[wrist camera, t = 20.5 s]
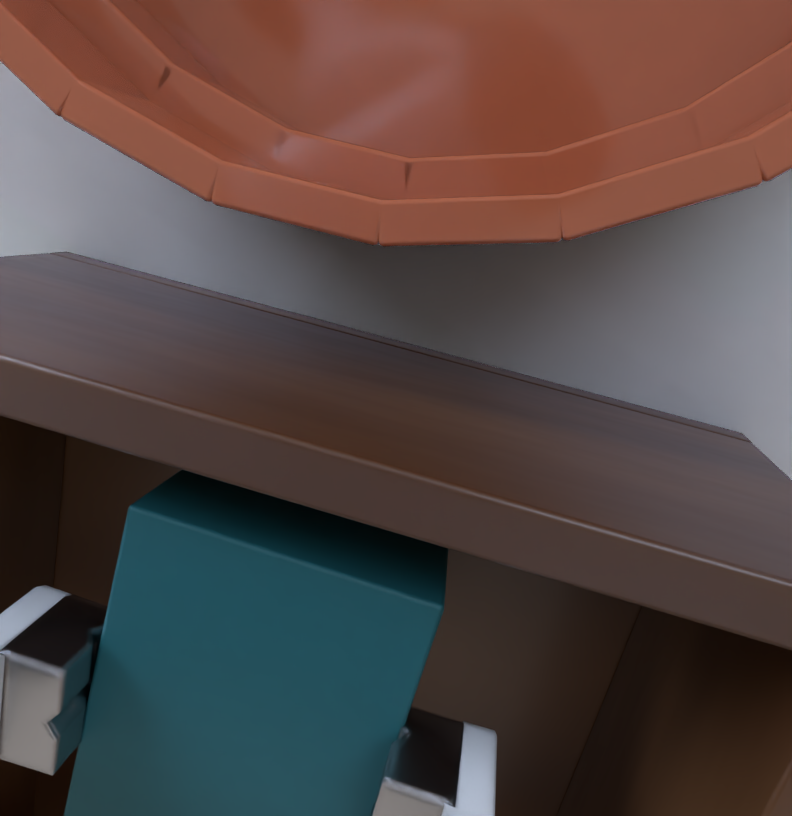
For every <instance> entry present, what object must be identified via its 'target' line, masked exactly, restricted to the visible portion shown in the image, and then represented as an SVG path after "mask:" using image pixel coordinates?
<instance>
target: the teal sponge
mask: <svg viewBox="0 0 792 816" xmlns="http://www.w3.org/2000/svg"><path fill="white" fill-rule="evenodd" d="M447 563H448V548H444V547H441V546H438V545H434V544H431V543H428V542H424V541H421V540H417V539H414V538H411V537H407V536H404V535H401V534H397V533H394V532H391V531H387V530H384V529H380V528H377V527H374V526H370V525H367V524H364V523H360V522H357V521H353V520H350V519H347V518H343V517H340V516H337V515H333V514H330V513H327V512H323V511H320V510H316V509H313V508H310V507H306V506H303V505H300V504H296V503H293V502H289V501H286V500H283V499H279V498H276V497H273V496H269V495H266V494H263V493H259V492H256V491H252V490H249V489H246V488H242V487H239V486H236V485H232V484H229V483H225V482H222V481H219V480H215V479H212V478H209V477H205V476H202V475H198V474H195V473H192V472H188V471H185V470H182V469H181V470H180V471H179V472H177V473H176V474H174V475H173V476H171V477H170V478H169V479H167V480H166V481H164V482H163V483H161V484H160V485H158V486H157V487H156V488H154V489H153V490H151V491H150V492H148V493H147V494H146V495H144V496H143V497H141V498H140V499H138V500H137V501H135V502H134V503H133V504H131V505H130V506H129V508H128V512H127V517H126V522H125V526H124V531H123V536H122V541H121V545H120V550H119V555H118V560H117V564H116V569H115V574H114V579H113V583H112V588H111V593H110V598H109V602H108V607H107V612H106V617H105V621H104V626H103V631H102V636H101V640H100V645H99V650H98V655H97V659H96V664H95V669H94V674H93V678H92V683H91V688H90V693H89V697H88V702H87V707H86V712H85V718H84V726H83V734H82V741H81V743H80V744H79V745H78V750H77V755H76V759H75V764H74V769H73V774H72V778H71V783H70V788H69V793H68V797H67V802H66V807H65V812H64V816H370V813H371V810H372V806H373V804H374V803H375V801H376V797H377V792H378V788H379V783H380V779H381V776H382V773H383V770H384V766H385V763H386V760H387V756H388V753H389V750H390V747H391V743H393V742H394V741H396V740H398V737H399V733H400V730H401V727H403V726H404V725H405V723H406V720H407V717H408V714H409V711H410V708H411V705H412V702H413V699H414V696H415V693H416V690H417V688H418V685H419V682H420V679H421V676H422V673H423V670H424V667H425V664H426V661H427V658H428V655H429V652H430V649H431V647H432V644H433V641H434V638H435V635H436V632H437V629H438V626H439V623H440V620H441V617H442V614H443V611H444V604H445V590H446V576H447Z"/></svg>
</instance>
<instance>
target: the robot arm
mask: <svg viewBox="0 0 792 816" xmlns="http://www.w3.org/2000/svg"><path fill="white" fill-rule="evenodd" d="M107 607H108V606H105V605H103V604H100V603H97V602H94V601H91V600H88V599H85V598H83V597H80V596H77V595H74V594H73V595H71V594H69V593H67V592H64V591H61V590H58V589H55V588H52V587H50V586H47V585H43V586H38V587H35V588H34V589H32V590H31V591H30V592H28V593H27V594H26V595H24V596H23V597H22V598H20V599H19V600H18V601H16V602H15V603H14V604H13V605H11V606H10V607H9V608H7V609H6V610H5V611H3V612H2V613H1V614H0V759H2V760H5V761H8V762H11V763H14V764H18V765H21V766H24V767H27V768H30V769H33V770H36V771H40V772H43V773H46V774H49V775H52V776H53V775H54V773H55V772H56V771H57V770H58V769H59V768H60V766H61V765H62V764H63V763H64V762H65V760H66V759H67V758H68V757H69V756H70V754H71V753H72V752H73V751H74V750H75V748H76V747H77V746H78V745H79V744H80V743H81V741H82V734H83V726H84V718H85V712H86V707H87V702H88V697H89V693H90V688H91V683H92V678H93V674H94V669H95V664H96V659H97V655H98V650H99V645H100V640H101V636H102V631H103V626H104V621H105V617H106V612H107ZM496 758H497V735H496V732H495V730H491V729H488V728H485V727H481V726H478V725H475V724H471V723H468V722H465V721H463V723H462V722H461V721H459V720H456V719H452V718H449V717H446V716H443V715H440V714H437V713H433V712H430V711H427V710H424V709H421V708H418V707H415V706H411V708H410V711H409V714H408V717H407V720H406V723H405V725H404V726H403V727H401V730H400V733H399V737H398V740H396V741H394V742H393V743H391V747H390V750H389V753H388V756H387V760H386V763H385V766H384V770H383V773H382V776H381V779H380V783H379V788H378V792H377V797H376V801H375V803H374V804H373V806H372V810H371V813H370V816H495V795H496Z"/></svg>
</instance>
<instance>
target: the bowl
mask: <svg viewBox="0 0 792 816" xmlns="http://www.w3.org/2000/svg"><path fill="white" fill-rule="evenodd" d="M0 61H1V62H2V63H3V64H4V65H5V66H6V67H7V68H8V69H9V70H10V71H11V72H12V73H13V74H14V75H15V76H16V77H18V78H19V79H20V80H21V81H22V82H23V83H24V84H25V85H26V86H27V87H28V88H29V89H30V90H31V91H32V92H33V93H34V94H35V95H36V96H37V97H38V98H39V99H40V100H41V101H42V102H43V103H45V104H46V105H47V106H48V107H49V108H50V109H51V110H52V111H53V112H54V113H55V114H56V115H58V116H61V117H62V118H63V119H64V120H65V121H67V122H68V123H70V124H72V125H74V126H75V127H77V128H79V129H81V130H82V131H84V132H86V133H88V134H89V135H91V136H93V137H95V138H96V139H98V140H100V141H102V142H103V143H105V144H107V145H109V146H110V147H112V148H114V149H116V150H117V151H119V152H121V153H123V154H124V155H126V156H128V157H130V158H131V159H133V160H135V161H137V162H138V163H140V164H142V165H144V166H145V167H147V168H149V169H151V170H152V171H154V172H156V173H158V174H159V175H161V176H163V177H165V178H166V179H168V180H170V181H172V182H173V183H175V184H177V185H179V186H180V187H182V188H184V189H186V190H187V191H189V192H191V193H193V194H194V195H196V196H198V197H200V198H201V199H203V200H205V201H208V202H212V203H214V204H215V205H217V206H221V207H224V208H228V209H232V210H236V211H240V212H244V213H248V214H252V215H256V216H260V217H264V218H268V219H271V220H275V221H279V222H283V223H287V224H291V225H295V226H299V227H303V228H307V229H311V230H314V231H318V232H322V233H326V234H330V235H334V236H338V237H342V238H346V239H350V240H354V241H358V242H361V243H365V244H369V245H378V244H380V245H381V246H383V247H390V246H434V245H478V244H522V243H557V242H559V241H561V239H562V240H565V241H570V240H573V239H576V238H580V237H583V236H587V235H590V234H594V233H597V232H601V231H604V230H608V229H611V228H615V227H618V226H622V225H625V224H628V223H632V222H635V221H639V220H642V219H646V218H649V217H653V216H656V215H660V214H663V213H667V212H670V211H674V210H677V209H681V208H684V207H687V206H691V205H694V204H698V203H701V202H705V201H708V200H712V199H715V198H719V197H722V196H726V195H729V194H733V193H736V192H740V191H743V190H746V189H750V188H753V187H757V186H758V185H760V184H761V183H762V182H767V181H771V180H773V179H775V178H776V177H778V176H780V175H782V174H783V173H785V172H787V171H789V170H791V169H792V0H0Z"/></svg>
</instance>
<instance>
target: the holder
mask: <svg viewBox="0 0 792 816" xmlns="http://www.w3.org/2000/svg"><path fill="white" fill-rule="evenodd" d="M181 469H182V470H185V471H188V472H192V473H195V474H198V475H202V476H205V477H209V478H212V479H215V480H219V481H222V482H225V483H229V484H232V485H236V486H239V487H242V488H246V489H249V490H252V491H256V492H259V493H263V494H266V495H269V496H273V497H276V498H279V499H283V500H286V501H289V502H293V503H296V504H300V505H303V506H306V507H310V508H313V509H316V510H320V511H323V512H327V513H330V514H333V515H337V516H340V517H343V518H347V519H350V520H353V521H357V522H360V523H364V524H367V525H370V526H374V527H377V528H380V529H384V530H387V531H391V532H394V533H397V534H401V535H404V536H407V537H411V538H414V539H417V540H421V541H424V542H428V543H431V544H434V545H438V546H441V547H444V548H448V563H447V576H446V590H445V604H444V611H443V614H442V617H441V620H440V623H439V626H438V629H437V632H436V635H435V638H434V641H433V644H432V647H431V649H430V652H429V655H428V658H427V661H426V664H425V667H424V670H423V673H422V676H421V679H420V682H419V685H418V688H417V690H416V693H415V696H414V699H413V702H412V705H411V706H415V707H418V708H421V709H424V710H427V711H430V712H433V713H437V714H440V715H443V716H446V717H449V718H452V719H456V720H459V721H461V722H462V723H463V721H465V722H468V723H471V724H475V725H478V726H481V727H485V728H488V729H491V730H495V732H496V735H497V758H496V795H495V816H792V480H791V479H790V478H789V477H788V476H787V475H786V474H784V473H783V472H782V471H781V470H780V469H779V468H778V467H777V466H776V465H775V464H774V463H773V462H772V461H771V460H770V459H769V458H768V457H766V456H765V455H764V454H763V453H762V452H761V451H760V450H759V449H758V448H757V447H756V446H755V445H754V444H752V442H751V441H750V440H749V439H748V438H747V437H746V436H745V435H743V434H742V433H739V432H736V431H732V430H728V429H724V428H721V427H717V426H713V425H709V424H706V423H702V422H698V421H695V420H691V419H687V418H683V417H680V416H676V415H672V414H669V413H665V412H661V411H657V410H654V409H650V408H646V407H642V406H639V405H635V404H631V403H628V402H624V401H620V400H616V399H613V398H609V397H605V396H602V395H598V394H594V393H590V392H587V391H583V390H579V389H575V388H572V387H568V386H564V385H561V384H557V383H553V382H549V381H546V380H542V379H538V378H535V377H531V376H527V375H523V374H520V373H516V372H512V371H508V370H505V369H501V368H497V367H494V366H490V365H486V364H482V363H479V362H475V361H471V360H467V359H464V358H460V357H456V356H453V355H449V354H445V353H441V352H438V351H434V350H430V349H427V348H423V347H419V346H415V345H412V344H408V343H404V342H400V341H397V340H393V339H389V338H386V337H382V336H378V335H374V334H371V333H367V332H363V331H360V330H356V329H352V328H348V327H345V326H341V325H337V324H333V323H330V322H326V321H322V320H319V319H315V318H311V317H307V316H304V315H300V314H296V313H293V312H289V311H285V310H281V309H278V308H274V307H270V306H266V305H263V304H259V303H255V302H252V301H248V300H244V299H240V298H237V297H233V296H229V295H226V294H222V293H218V292H214V291H211V290H207V289H203V288H199V287H196V286H192V285H188V284H185V283H181V282H177V281H173V280H170V279H166V278H162V277H158V276H155V275H151V274H147V273H144V272H140V271H136V270H132V269H129V268H125V267H121V266H118V265H114V264H110V263H106V262H103V261H99V260H95V259H91V258H88V257H84V256H80V255H77V254H73V253H69V252H56V253H50V254H49V253H46V254H32V255H19V256H6V257H0V614H1V613H2V612H3V611H5V610H6V609H7V608H9V607H10V606H11V605H13V604H14V603H15V602H16V601H18V600H19V599H20V598H22V597H23V596H24V595H26V594H27V593H28V592H30V591H31V590H32V589H34V588H35V587H38V586H43V585H47V586H50V587H52V588H55V589H58V590H61V591H64V592H67V593H69V594H71V595H73V594H74V595H77V596H80V597H83V598H85V599H88V600H91V601H94V602H97V603H100V604H103V605H105V606H108V602H109V598H110V593H111V588H112V583H113V579H114V574H115V569H116V564H117V560H118V555H119V550H120V545H121V541H122V536H123V531H124V526H125V522H126V517H127V512H128V508H129V506H130V505H131V504H133V503H134V502H135V501H137V500H138V499H140V498H141V497H143V496H144V495H146V494H147V493H148V492H150V491H151V490H153V489H154V488H156V487H157V486H158V485H160V484H161V483H163V482H164V481H166V480H167V479H169V478H170V477H171V476H173V475H174V474H176V473H177V472H179V471H180V470H181ZM77 750H78V746H77V747H76V748H75V750H74V751H73V752H72V753H71V754H70V756H69V757H68V758H67V759H66V760H65V762H64V763H63V764H62V765H61V766H60V768H59V769H58V770H57V771H56V772H55V773H54V775H53V776H52V775H49V774H46V773H43V772H40V771H36V770H33V769H30V768H27V767H24V766H21V765H18V764H14V763H11V762H8V761H5V760H2V759H0V816H64V812H65V807H66V802H67V797H68V793H69V788H70V783H71V778H72V774H73V769H74V764H75V759H76V755H77Z"/></svg>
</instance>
